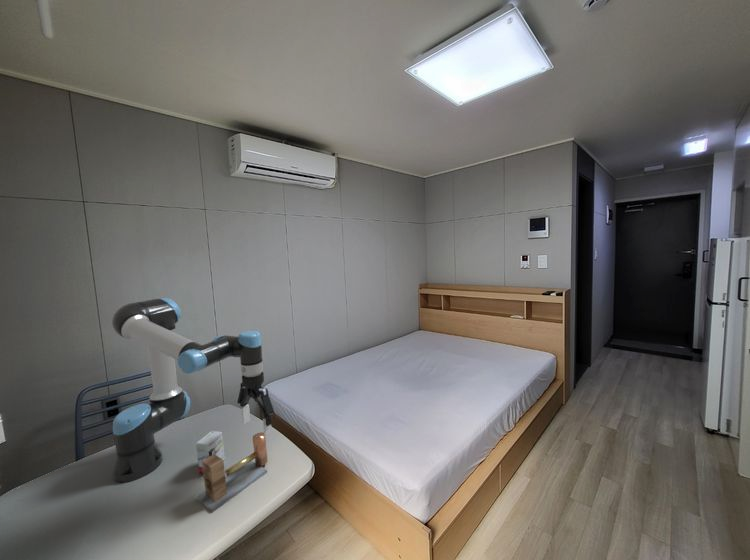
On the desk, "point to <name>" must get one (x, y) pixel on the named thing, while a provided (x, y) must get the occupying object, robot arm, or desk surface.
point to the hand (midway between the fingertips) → (256, 427)
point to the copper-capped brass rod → (253, 454)
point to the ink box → (210, 447)
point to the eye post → (225, 481)
